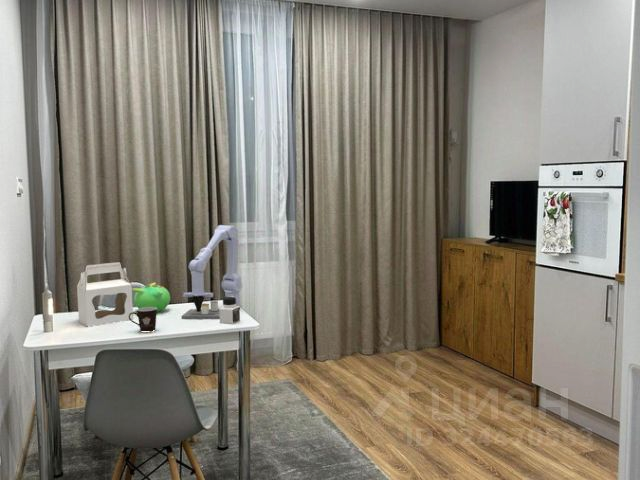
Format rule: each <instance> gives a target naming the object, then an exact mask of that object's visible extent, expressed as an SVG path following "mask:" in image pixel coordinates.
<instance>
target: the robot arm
mask: <svg viewBox="0 0 640 480" xmlns="http://www.w3.org/2000/svg"><path fill="white" fill-rule="evenodd" d="M238 233H239V229H237V227H236V226H235V225H225V224H224V225H223V224H219V225H218V226H216V228H215V229H214V234H213V235H212V237H211V238H210V240H209V242H208V244H207V246H206V247H202V248H201V249H199V250H200V251H199V253H198V254H197V255H196V256H195V258H194V259H192V260H191V261H190V262H189V264H188V269H189V271H190V275H191V291H190V292H183V293H182V295H183V298H191V300H192V301H193V304H194V306H195V309H197V312H200V311H201V305H202V304H204V303H203V302H204V300H205V298H213V297H214V292H207V291H205V284H204V281H205V280H204V277H205V275H204V271H205V270H206V268H207V264H208V261H209V260H210V259H211V258H212V256H213V251H214V250H215V248H216V247H217V246H218V245H219V243H220V242H221V241H225V242H226V243H227V250H226V251H227V254H226V255H227V257H226V273H225V274H224V275H223V276H222V281H221V288H222V290H223V292H224V295H225V296H224V297H228V296H232V297H235V298H236V306H239V307H240V309H241V308H242V307H243V305H242V304H241V296H240V293H241V290H242V288H243V283H242V277H241V276H240V275H239V274H238V266H239V264H238V262H239V261H238V260H239V259H238V258H239V237H238Z"/></svg>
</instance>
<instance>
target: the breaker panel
mask: <svg viewBox="0 0 640 480" xmlns="http://www.w3.org/2000/svg"><path fill="white" fill-rule="evenodd" d="M181 320H220V308H218V310H217V311H211V308H209V313H208V314H202V313H201V311H200V312H197V309H196V308H191V309H189V310H188V311H186V312H185V313H183V314H182V315H181Z"/></svg>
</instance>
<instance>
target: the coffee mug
mask: <svg viewBox="0 0 640 480" xmlns="http://www.w3.org/2000/svg"><path fill="white" fill-rule="evenodd" d="M157 313H158V312H157V308H156V307H143V308H137V309H136V312H134V311H133V312H132V313H130V314H129V319H130V315H131V314H133V315H136V317H137V318H138V322H136V321H134V320H131V319H130V320H129V321H131V323H134V324H135V325H137V326H138V327H139V330H140V332H141V331H153V330H155V331H156V325H157V315H158V314H157Z"/></svg>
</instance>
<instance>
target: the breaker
mask: <svg viewBox="0 0 640 480" xmlns="http://www.w3.org/2000/svg"><path fill="white" fill-rule="evenodd" d="M209 303H210V309H211V311H217V310H218V309H219V300H211V301H210V302H209Z"/></svg>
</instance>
